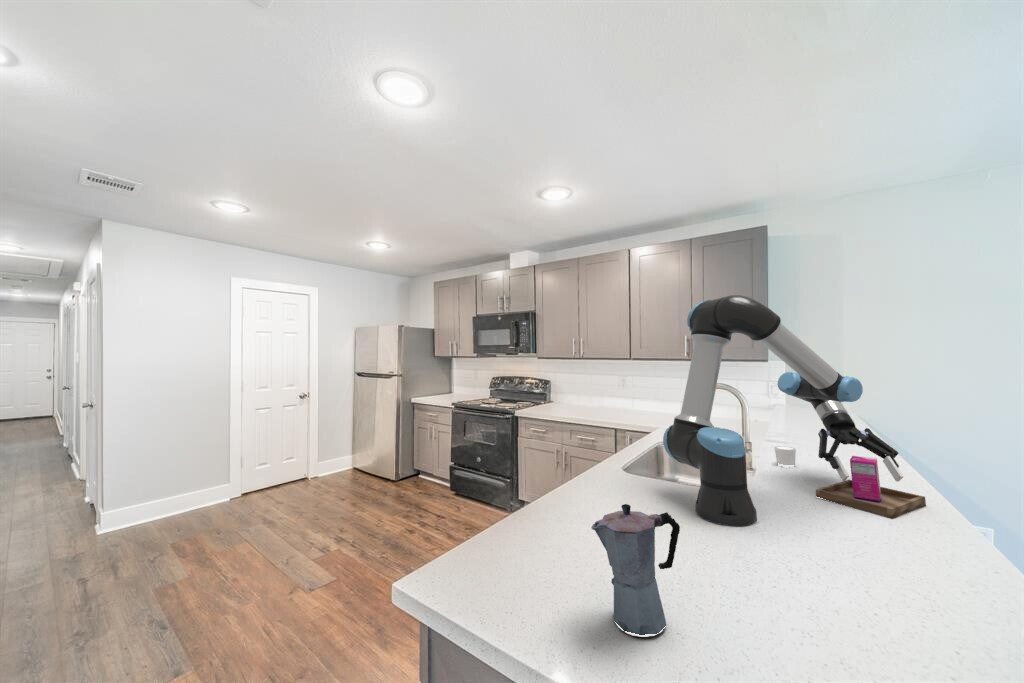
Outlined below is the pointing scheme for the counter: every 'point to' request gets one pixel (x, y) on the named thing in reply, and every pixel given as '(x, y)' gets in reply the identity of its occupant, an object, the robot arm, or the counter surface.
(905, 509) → the walnut tray
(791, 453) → the shot glass
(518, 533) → the counter surface
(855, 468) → the supplement box
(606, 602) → the counter surface
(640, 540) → the moka pot
